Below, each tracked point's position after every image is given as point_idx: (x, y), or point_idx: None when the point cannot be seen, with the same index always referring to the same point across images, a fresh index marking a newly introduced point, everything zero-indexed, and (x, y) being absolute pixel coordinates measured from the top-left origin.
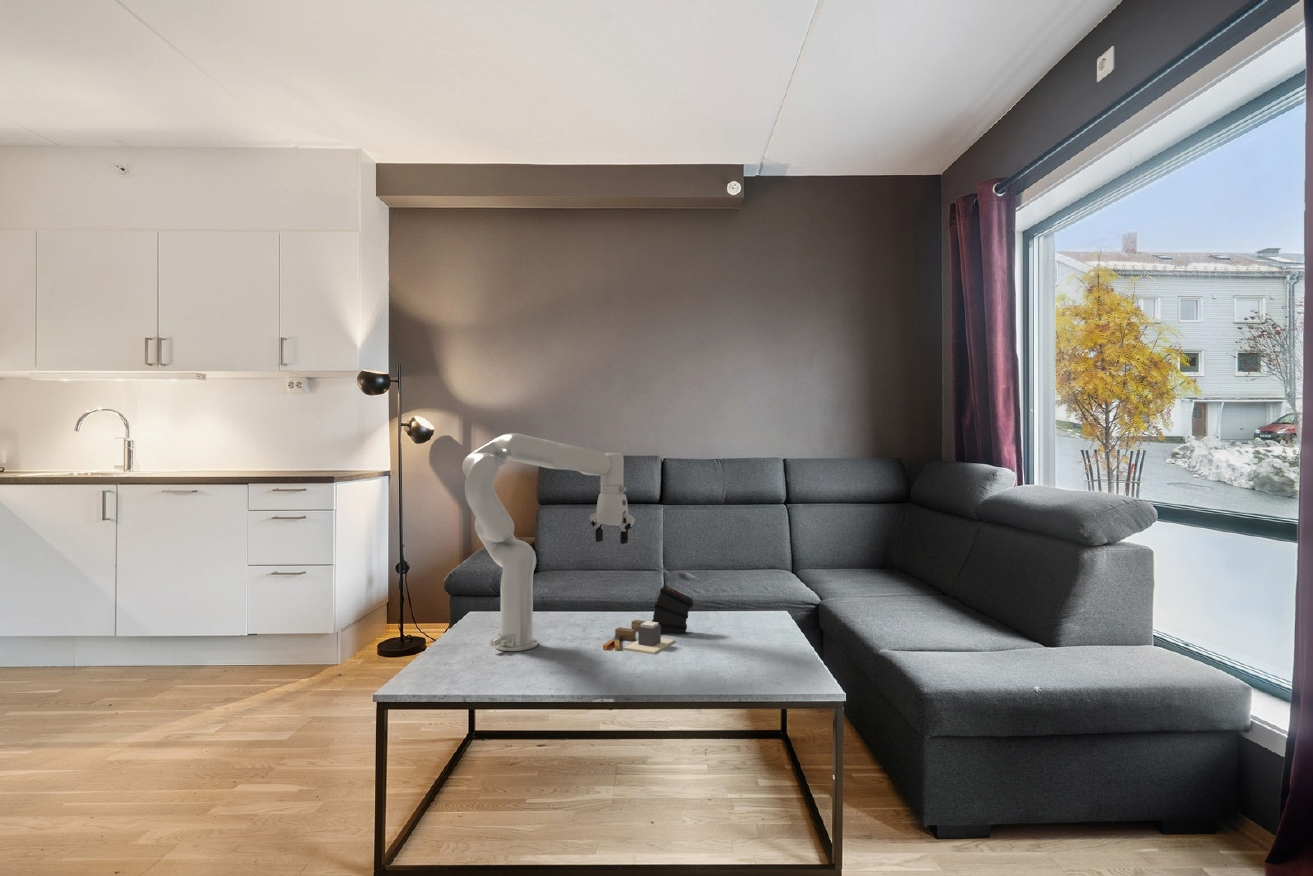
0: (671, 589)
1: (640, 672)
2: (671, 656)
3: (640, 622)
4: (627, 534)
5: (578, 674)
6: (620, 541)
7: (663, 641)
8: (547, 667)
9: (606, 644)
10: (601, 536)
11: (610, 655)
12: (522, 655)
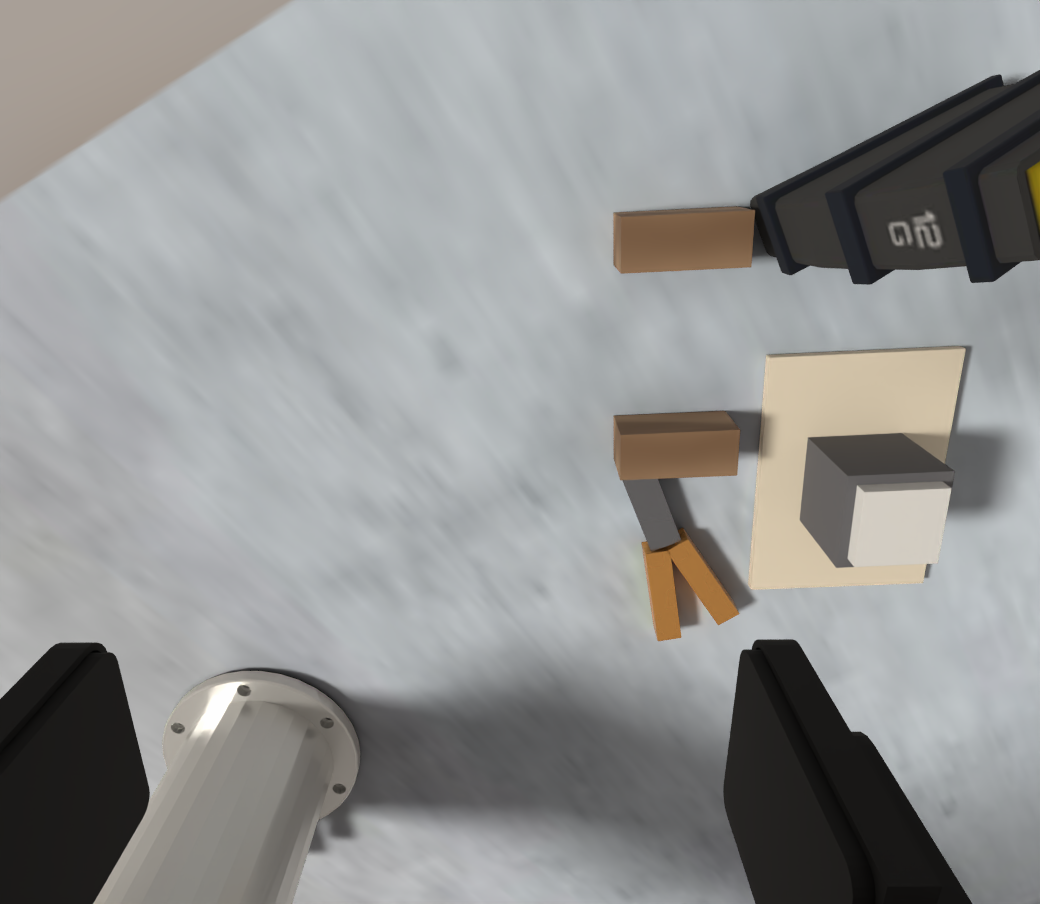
0: None
1: (939, 774)
2: (1010, 567)
3: (692, 267)
4: (933, 867)
5: (725, 871)
6: (735, 839)
7: (911, 411)
8: (577, 866)
9: (671, 630)
10: (64, 769)
11: (729, 672)
12: (391, 815)
